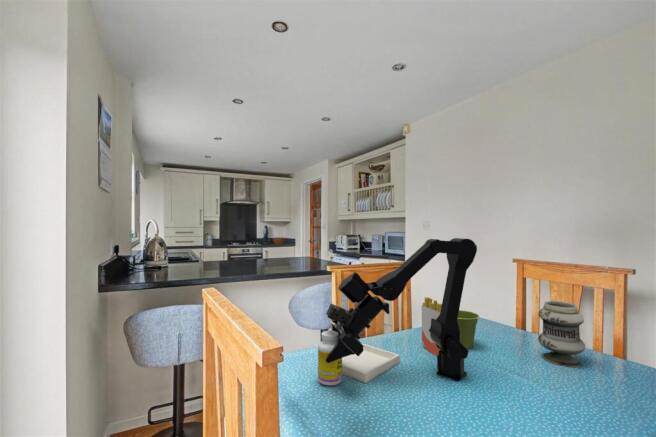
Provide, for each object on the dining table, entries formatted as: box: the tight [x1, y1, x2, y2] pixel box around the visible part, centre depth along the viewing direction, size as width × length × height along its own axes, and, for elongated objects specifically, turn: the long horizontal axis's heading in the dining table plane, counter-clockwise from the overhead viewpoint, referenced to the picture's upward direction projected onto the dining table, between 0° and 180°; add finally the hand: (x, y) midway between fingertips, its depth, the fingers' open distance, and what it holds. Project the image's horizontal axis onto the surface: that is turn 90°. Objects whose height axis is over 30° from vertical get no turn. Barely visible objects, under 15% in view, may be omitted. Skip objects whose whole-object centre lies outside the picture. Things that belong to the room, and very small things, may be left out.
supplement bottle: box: [317, 330, 343, 386], centre depth 86 cm, size 7×7×13 cm
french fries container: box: [421, 296, 442, 357], centre depth 107 cm, size 5×11×18 cm, turn 17°
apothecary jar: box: [537, 300, 586, 368], centre depth 101 cm, size 12×12×18 cm
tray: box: [342, 342, 401, 384], centre depth 98 cm, size 18×18×2 cm
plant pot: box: [458, 309, 480, 350], centre depth 113 cm, size 12×12×11 cm
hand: (325, 356), depth 86 cm, fingers closed on supplement bottle, 7 cm apart
